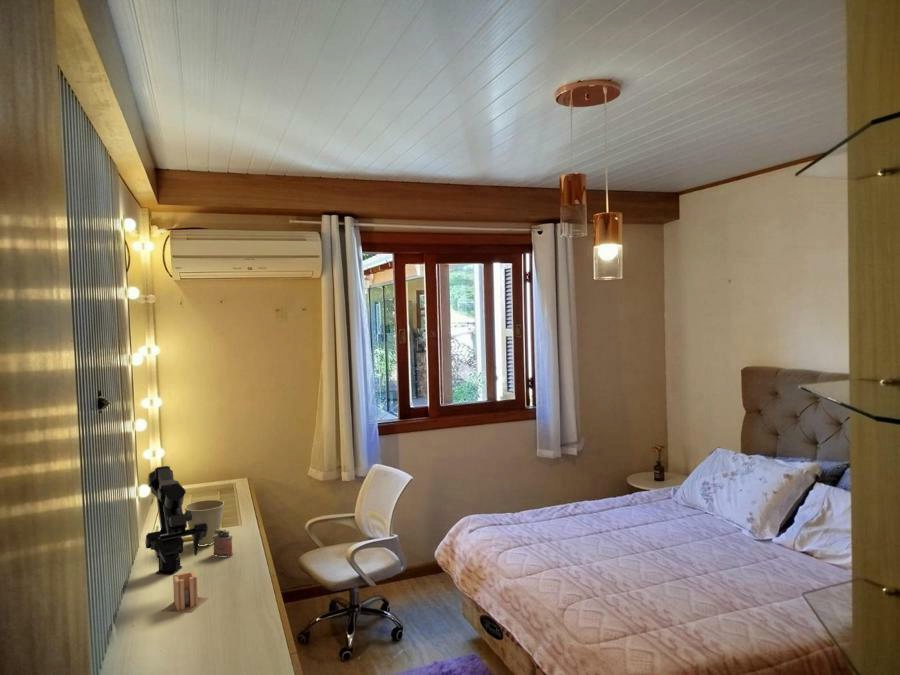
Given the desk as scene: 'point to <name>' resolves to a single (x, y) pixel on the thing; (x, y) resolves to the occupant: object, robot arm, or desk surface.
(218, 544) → the perfume bottle
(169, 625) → the desk surface
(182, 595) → the c link
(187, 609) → the stand
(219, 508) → the plant pot
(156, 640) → the desk surface
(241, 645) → the desk surface
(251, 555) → the desk surface
